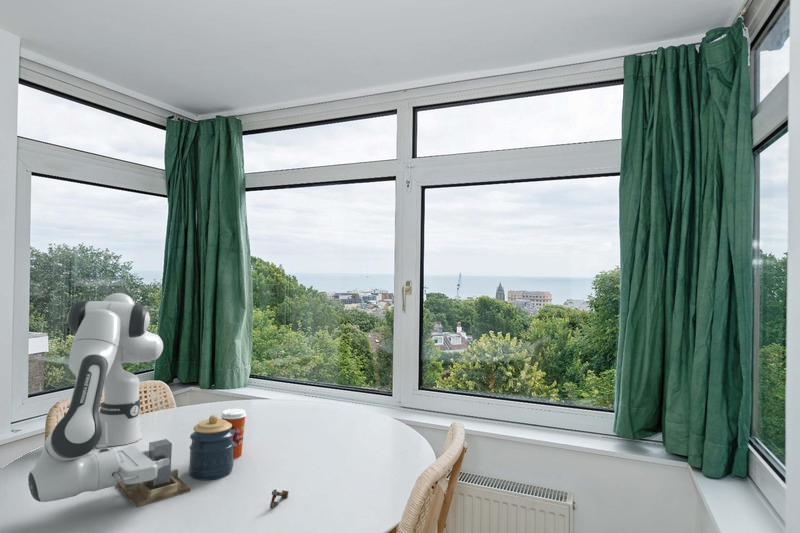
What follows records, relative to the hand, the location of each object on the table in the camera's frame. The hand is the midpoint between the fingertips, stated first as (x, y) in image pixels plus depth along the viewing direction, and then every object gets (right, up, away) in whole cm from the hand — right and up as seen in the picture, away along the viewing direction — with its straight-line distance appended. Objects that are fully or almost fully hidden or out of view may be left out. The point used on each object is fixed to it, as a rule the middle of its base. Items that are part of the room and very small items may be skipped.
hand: (163, 456), depth 133 cm
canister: (+8, -11, +14) cm, 20 cm away
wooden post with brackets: (+34, -11, -4) cm, 36 cm away
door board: (-5, -10, +3) cm, 12 cm away
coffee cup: (+9, -11, +28) cm, 32 cm away
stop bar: (-1, -9, -1) cm, 9 cm away
